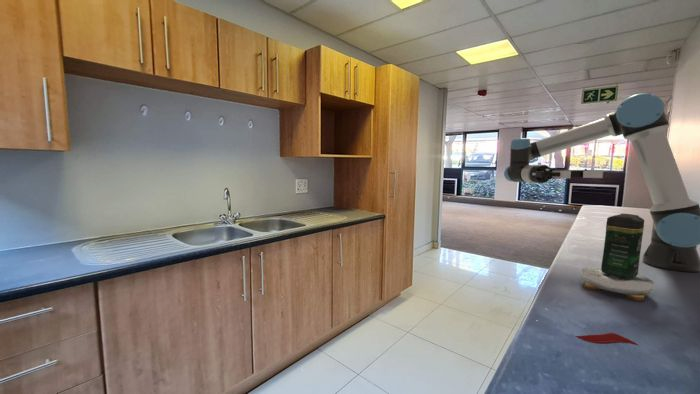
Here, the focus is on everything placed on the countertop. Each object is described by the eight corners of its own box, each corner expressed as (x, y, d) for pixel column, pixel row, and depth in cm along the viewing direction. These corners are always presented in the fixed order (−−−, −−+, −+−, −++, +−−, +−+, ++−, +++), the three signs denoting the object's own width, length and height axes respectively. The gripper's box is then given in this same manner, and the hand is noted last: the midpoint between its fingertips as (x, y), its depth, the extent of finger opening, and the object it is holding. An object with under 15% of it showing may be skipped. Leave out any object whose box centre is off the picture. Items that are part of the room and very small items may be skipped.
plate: (608, 278, 97) (609, 265, 97) (668, 299, 81) (669, 284, 81) (567, 282, 94) (568, 268, 94) (621, 304, 79) (623, 288, 78)
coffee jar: (632, 282, 83) (640, 217, 81) (597, 273, 89) (603, 213, 87) (641, 275, 88) (648, 214, 86) (607, 267, 95) (613, 211, 93)
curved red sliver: (636, 343, 62) (637, 334, 62) (648, 355, 58) (649, 346, 58) (568, 330, 67) (568, 322, 67) (574, 340, 63) (574, 332, 63)
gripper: (560, 182, 125) (614, 184, 104) (510, 183, 120) (555, 185, 100) (561, 164, 125) (615, 163, 104) (510, 164, 120) (556, 163, 99)
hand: (586, 174), depth 102 cm, fingers open, 13 cm apart
